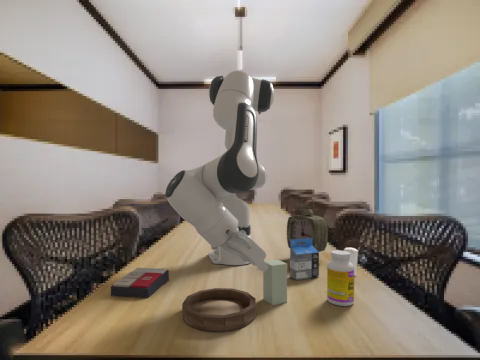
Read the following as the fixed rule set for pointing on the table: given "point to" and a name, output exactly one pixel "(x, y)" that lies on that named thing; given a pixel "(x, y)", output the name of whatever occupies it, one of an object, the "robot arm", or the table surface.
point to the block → (275, 282)
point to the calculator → (140, 283)
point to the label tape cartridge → (303, 259)
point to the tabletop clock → (308, 228)
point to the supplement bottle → (340, 279)
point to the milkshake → (353, 257)
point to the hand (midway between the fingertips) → (255, 264)
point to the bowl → (219, 309)
